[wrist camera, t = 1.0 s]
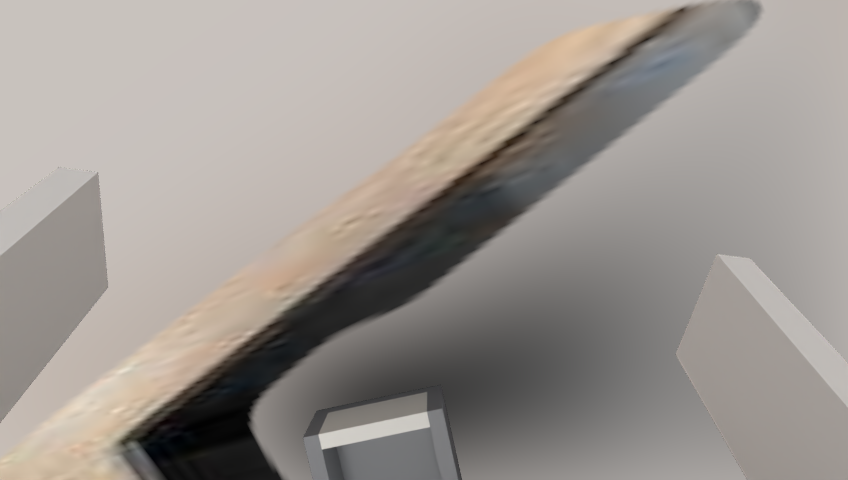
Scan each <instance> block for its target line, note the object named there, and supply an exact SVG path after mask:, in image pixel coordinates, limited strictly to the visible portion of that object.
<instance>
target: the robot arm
mask: <svg viewBox="0 0 848 480" xmlns="http://www.w3.org/2000/svg"><path fill="white" fill-rule="evenodd" d="M107 288H108V280H107V269H106V257H105V246H104V234H103V223H102V212H101V200H100V188H99V178H98V172H92V171H84V170H77V169H70V168H62V167H58V168H57V169H56V170H54V171H53V172H52V173H50V174H49V175H48V176H46V177H45V178H44V179H42V180H41V181H40V182H38V183H37V184H36V185H34V186H33V187H32V188H30V189H29V190H28V191H26V192H25V193H24V194H22V195H21V196H20V197H18V198H17V199H16V200H14V201H13V202H12V203H10V204H9V205H8V206H6V207H5V208H3V209H2V210H1V211H0V423H1V421H2V420H3V419H4V417H5V416H6V415H7V414H8V412H9V411H10V410H11V409H12V407H13V406H14V405H15V404H16V402H17V401H18V400H19V399H20V397H21V396H22V395H23V394H24V392H25V391H26V390H27V389H28V387H29V386H30V385H31V383H32V382H33V381H34V380H35V379H36V377H37V376H38V375H39V373H40V372H41V371H42V370H43V368H44V367H45V366H46V365H47V363H48V362H49V361H50V360H51V358H52V357H53V356H54V355H55V353H56V352H57V351H58V350H59V348H60V347H61V346H62V344H63V343H64V342H65V341H66V340H67V338H68V337H69V336H70V334H71V333H72V332H73V331H74V329H75V328H76V327H77V326H78V324H79V323H80V322H81V321H82V319H83V318H84V317H85V316H86V314H87V313H88V312H89V311H90V309H91V308H92V307H93V306H94V304H95V303H96V302H97V301H98V299H99V298H100V297H101V296H102V294H103V293H104V292H105V291H106V289H107ZM675 355H676V356H677V358H678V360H679V362H680V363H681V365H682V367H683V369H684V370H685V372H686V374H687V375H688V377H689V379H690V381H691V383H692V384H693V386H694V388H695V389H696V391H697V393H698V395H699V397H700V398H701V400H702V402H703V404H704V405H705V407H706V409H707V411H708V412H709V414H710V416H711V418H712V419H713V421H714V423H715V425H716V426H717V428H718V430H719V431H720V433H721V435H722V437H723V439H724V440H725V442H726V444H727V445H728V447H729V449H730V451H731V452H732V454H733V456H734V458H735V460H736V461H737V463H738V465H739V466H740V468H741V470H742V472H743V473H744V475H745V477H746V479H747V480H848V363H847V362H846V361H845V359H844V358H843V357H842V356H841V355H840V354H839V353H838V352H837V351H836V350H835V349H834V348H833V347H832V346H831V344H830V343H829V342H828V341H827V340H826V339H825V338H824V337H823V336H822V335H821V334H820V333H819V332H818V331H817V329H815V327H813V325H812V324H811V323H810V322H809V321H808V320H807V319H806V318H805V317H804V316H803V315H802V313H801V312H800V311H799V310H798V309H797V308H796V307H795V306H794V305H793V304H792V303H791V302H790V301H789V300H788V298H786V296H785V295H784V294H783V293H782V292H781V291H780V290H779V289H778V288H777V287H776V286H775V285H774V283H773V282H771V280H770V279H769V278H768V277H767V276H766V275H765V274H764V273H763V272H762V271H761V270H760V269H759V268H758V267H757V265H756V264H755V263H754V262H753V261H752V260H751V259H750V258H744V257H735V256H728V255H721V254H717V255H716V257H715V259H714V262H713V264H712V267H711V269H710V271H709V274H708V276H707V279H706V281H705V284H704V286H703V288H702V291H701V293H700V296H699V298H698V301H697V303H696V306H695V308H694V310H693V313H692V315H691V318H690V320H689V323H688V325H687V327H686V330H685V332H684V335H683V337H682V339H681V342H680V344H679V347H678V349H677V352H676V354H675Z"/></svg>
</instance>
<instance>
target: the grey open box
mask: <svg viewBox="0 0 848 480" xmlns="http://www.w3.org/2000/svg"><path fill="white" fill-rule="evenodd" d="M303 440H304V444H305V449H306V452H307V457H308V461H309V465H310V469H311V473H312V478H313V480H462V478H461V473H460V469H459V464H458V459H457V455H456V450H455V446H454V441H453V437H452V432H451V428H450V423H449V419H448V414H447V410H446V405H445V400H444V396H443V391H442V387H441V385H437V386H432V387H427V388H422V389H418V390H413V391H409V392H404V393H399V394H395V395H390V396H384V397H380V398H375V399H370V400H365V401H361V402H356V403H351V404H347V405H342V406H337V407H332V408H328V409H323V410H318V411H316V413H315V415H314V417H313V419H312V421H311V423H310V425H309V427H308V429H307V431H306V433H305V435H304V437H303Z"/></svg>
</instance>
